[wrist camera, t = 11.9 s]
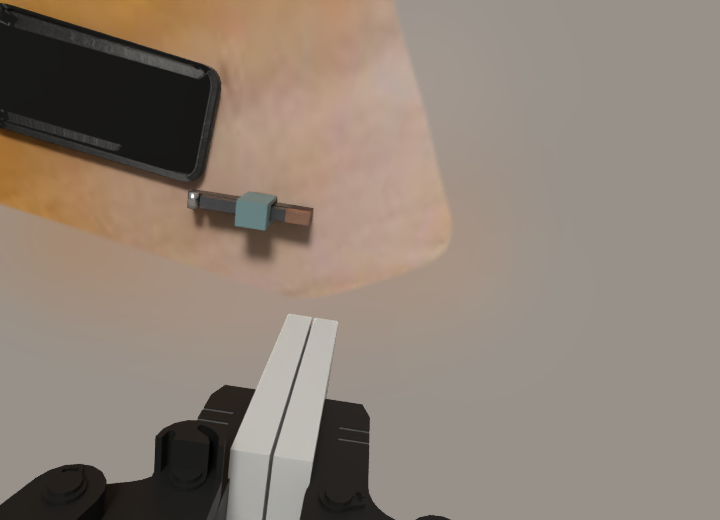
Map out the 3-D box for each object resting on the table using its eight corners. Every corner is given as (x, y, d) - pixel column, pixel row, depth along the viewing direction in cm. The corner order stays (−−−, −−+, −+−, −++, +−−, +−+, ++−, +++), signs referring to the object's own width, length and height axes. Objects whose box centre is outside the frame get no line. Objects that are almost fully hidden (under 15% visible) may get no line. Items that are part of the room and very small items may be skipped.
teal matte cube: (246, 215, 36) (234, 225, 33) (248, 191, 35) (236, 199, 32) (274, 220, 36) (265, 230, 33) (276, 196, 35) (267, 204, 32)
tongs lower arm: (192, 200, 36) (187, 203, 35) (193, 189, 35) (188, 191, 34) (312, 219, 36) (310, 222, 35) (313, 208, 35) (311, 211, 35)
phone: (-12, -2, 32) (220, 69, 32) (0, 1, 33) (226, 71, 33) (-21, 123, 34) (197, 187, 35) (-8, 122, 35) (203, 185, 36)
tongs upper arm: (189, 205, 35) (185, 207, 34) (190, 190, 34) (186, 191, 34) (309, 225, 35) (307, 227, 34) (311, 209, 34) (309, 211, 34)
